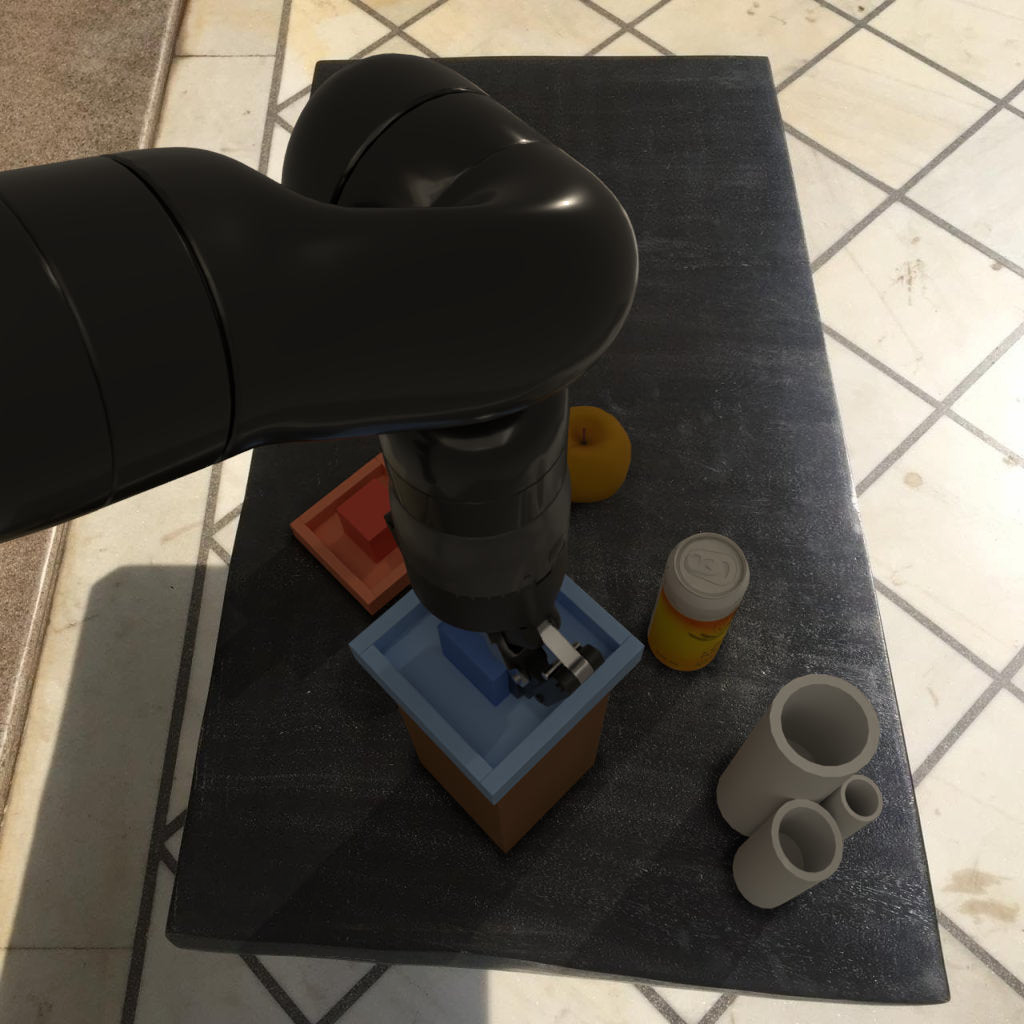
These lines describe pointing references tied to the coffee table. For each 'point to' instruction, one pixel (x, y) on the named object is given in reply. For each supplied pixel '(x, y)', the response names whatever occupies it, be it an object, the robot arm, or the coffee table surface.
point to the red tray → (352, 544)
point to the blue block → (474, 661)
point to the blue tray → (497, 713)
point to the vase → (800, 787)
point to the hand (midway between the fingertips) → (496, 654)
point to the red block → (368, 520)
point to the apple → (596, 454)
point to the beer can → (697, 600)
